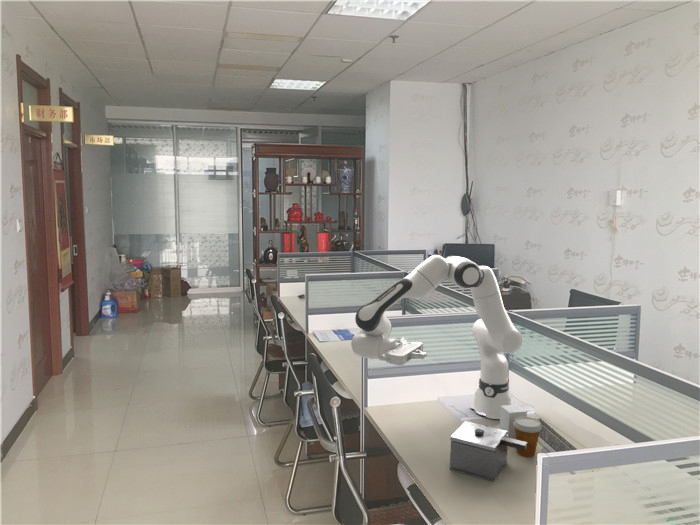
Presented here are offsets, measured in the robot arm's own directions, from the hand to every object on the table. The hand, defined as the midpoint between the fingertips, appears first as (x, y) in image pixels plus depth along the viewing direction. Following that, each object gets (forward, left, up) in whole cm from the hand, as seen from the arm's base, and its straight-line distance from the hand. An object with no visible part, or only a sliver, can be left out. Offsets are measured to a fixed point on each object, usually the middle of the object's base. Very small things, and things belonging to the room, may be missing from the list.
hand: (425, 355), depth 207 cm
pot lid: (+8, +28, -22) cm, 36 cm away
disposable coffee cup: (-10, +36, -33) cm, 49 cm away
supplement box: (-18, +29, -33) cm, 47 cm away
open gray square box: (+8, +24, -33) cm, 41 cm away
